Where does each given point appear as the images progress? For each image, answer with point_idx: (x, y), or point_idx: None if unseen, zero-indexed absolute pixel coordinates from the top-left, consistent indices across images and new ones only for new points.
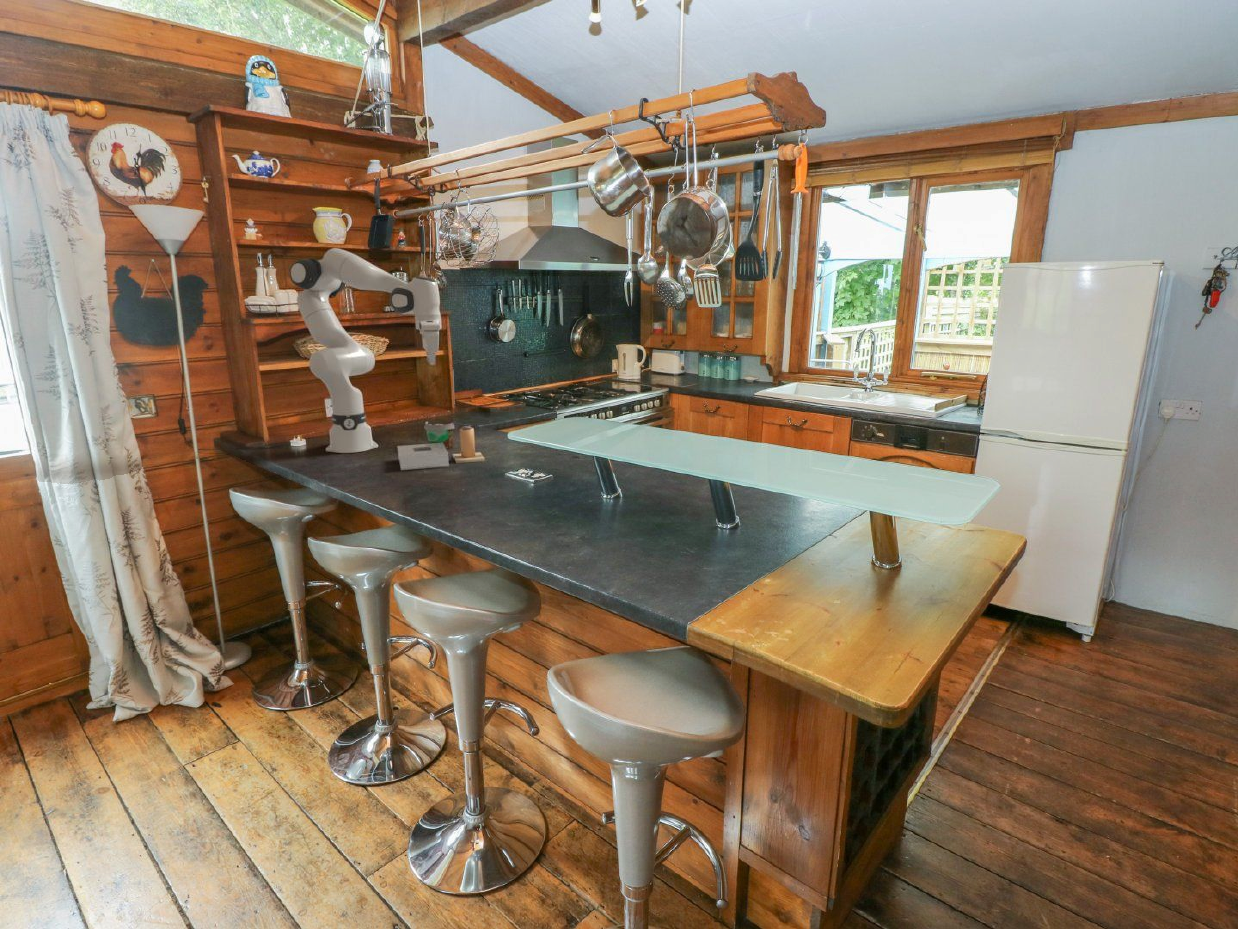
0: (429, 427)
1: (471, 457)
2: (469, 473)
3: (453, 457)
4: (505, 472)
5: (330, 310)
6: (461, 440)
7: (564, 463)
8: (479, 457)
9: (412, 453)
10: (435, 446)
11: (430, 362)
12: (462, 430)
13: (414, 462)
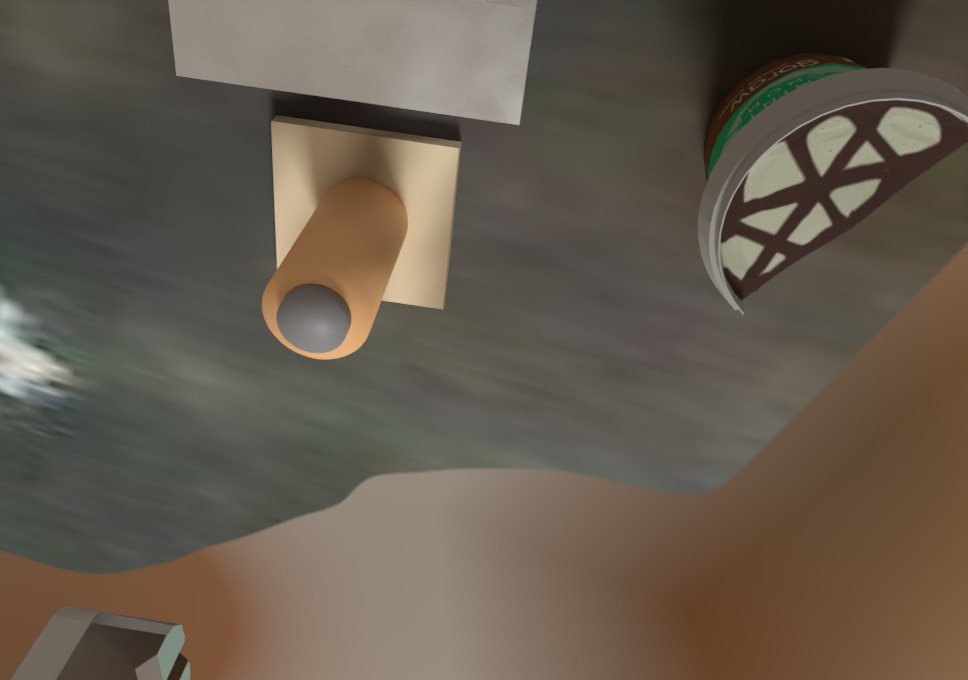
0: (796, 105)
1: None
2: (13, 118)
3: (437, 138)
4: (8, 289)
5: None
6: (313, 229)
7: (126, 533)
8: None
9: None
10: (405, 35)
11: (34, 659)
12: (277, 275)
13: None
